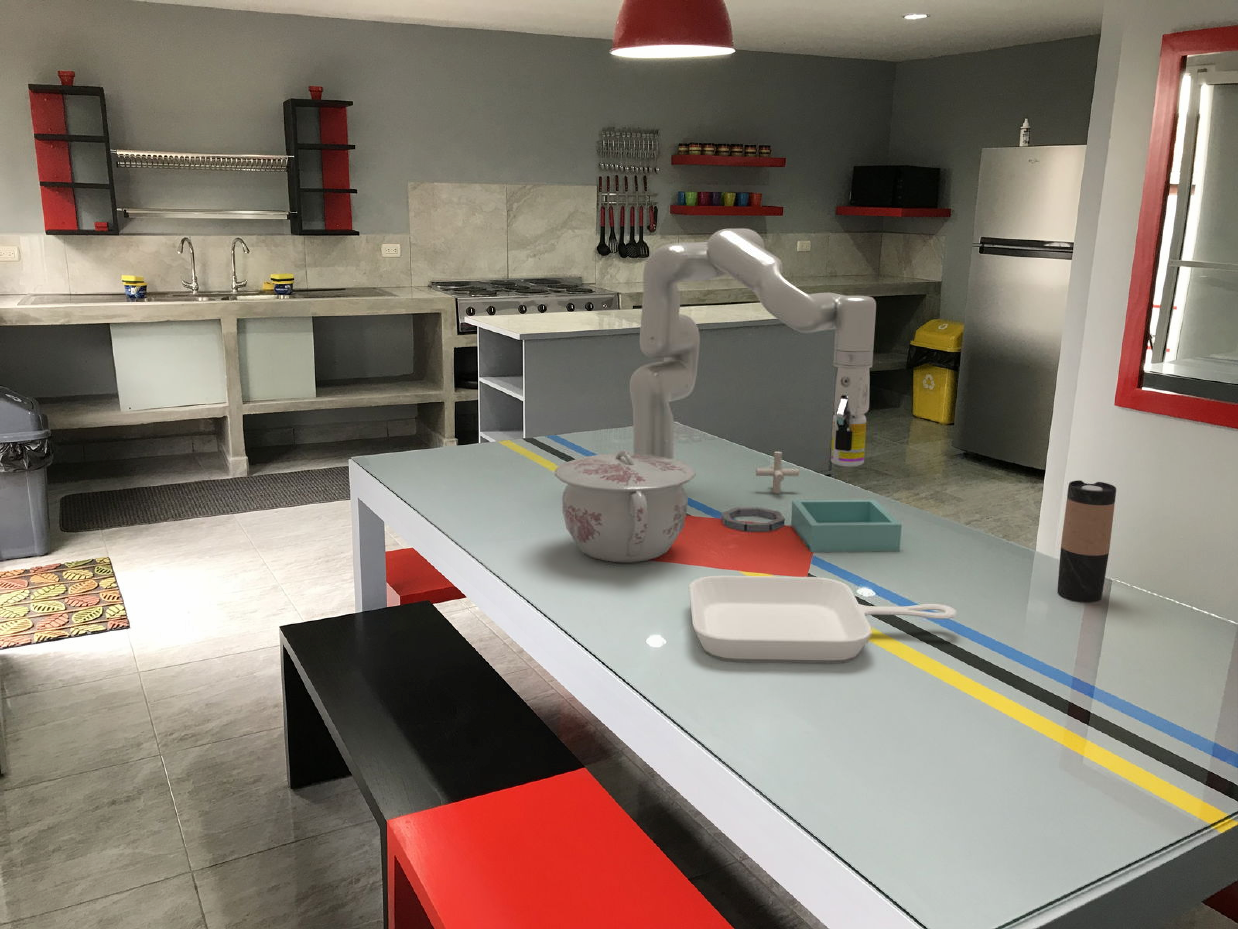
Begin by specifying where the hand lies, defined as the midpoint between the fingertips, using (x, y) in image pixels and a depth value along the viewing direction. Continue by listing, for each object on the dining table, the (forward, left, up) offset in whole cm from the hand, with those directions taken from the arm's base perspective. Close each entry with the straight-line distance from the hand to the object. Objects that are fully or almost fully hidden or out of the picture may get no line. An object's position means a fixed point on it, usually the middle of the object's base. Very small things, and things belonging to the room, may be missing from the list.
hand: (848, 445), depth 203 cm
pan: (-16, -48, -20) cm, 55 cm away
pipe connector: (-7, +35, -20) cm, 41 cm away
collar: (-17, +11, -19) cm, 28 cm away
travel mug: (+33, -34, -20) cm, 51 cm away
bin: (0, 0, -19) cm, 19 cm away
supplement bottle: (0, 0, -4) cm, 4 cm away
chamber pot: (-46, -8, -20) cm, 51 cm away
